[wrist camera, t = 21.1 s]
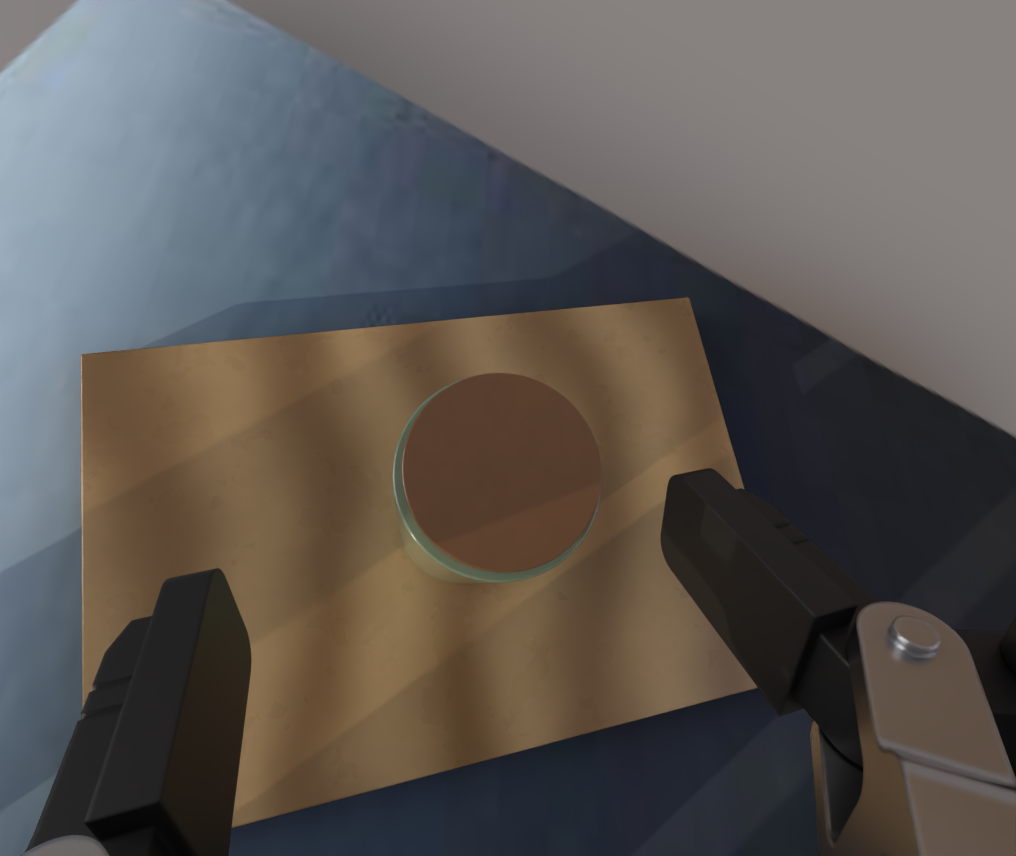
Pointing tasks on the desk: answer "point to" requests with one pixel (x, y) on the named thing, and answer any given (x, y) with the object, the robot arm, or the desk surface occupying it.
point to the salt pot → (495, 480)
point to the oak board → (400, 541)
